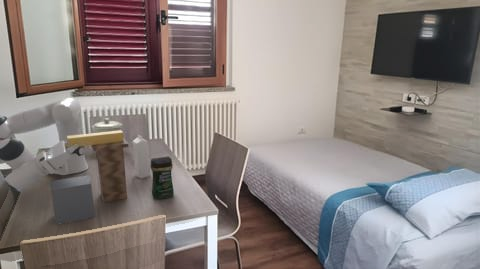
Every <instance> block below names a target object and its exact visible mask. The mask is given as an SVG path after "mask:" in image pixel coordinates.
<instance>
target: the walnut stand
mask: <svg viewBox="0 0 480 269" xmlns="http://www.w3.org/2000/svg"><path fill="white" fill-rule="evenodd" d="M90 146H91V148H92V151H93V152H96V158H97V168H98V177H99V187H100V195H101V197H102V201H103V203H109V202H113V201H117V200H124V199H128V190H127V178H126V167H125V166H126V165H125V155H124V149H125V148H129V147H130V146H129V143H128V141H127V140H126V139H125V138H124V141H121V142H113V143H104V144H96V145H90Z"/></svg>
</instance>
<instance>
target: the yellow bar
mask: <svg viewBox="0 0 480 269" xmlns="http://www.w3.org/2000/svg"><path fill="white" fill-rule="evenodd" d="M67 139H68V146H69V148H70V147H71V146H72V145H73V144H75V143H77V145H78V147H80V146H84V147H85V146H86V147H87V146H91V145H96V144H104V143H113V142H121V141H124V139H125V137H124V132H123V131H122V129H121V130H119V131H109V132H100V133H94V132H91V133H83V134H82V133H81V135H72V136H67Z"/></svg>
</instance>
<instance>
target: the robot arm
mask: <svg viewBox="0 0 480 269" xmlns="http://www.w3.org/2000/svg"><path fill="white" fill-rule="evenodd" d="M80 111H81V104H80V102H79V101H78V100H77V99H76V98H74V97H73V98H72V97H65V98H61V99H58V100H56V101H52V102H49V103H46V104H43V105H41V106H36V107H33V108H30V109H26V110H23V111H20V112H17V113H15V114H12V115H10V116H8V117H7V116H2V115H0V165H1V164H2V165H3V164H6V165H7V166H9V167H10V168H11V170H12V171H11V172H10V173H9V174H7V176H5V177H4V182H5V184H7V185H8V186H9V187H10V188H11V189H12V190H14V191H15V192H20V191H23V190H26V189H27V188H30V187H31V186H33V185H34V184H36V183H37V182H39V180H40V179H41V178H43V177H46V176H47V175H49V174H50V175H53V174H55V175H60V176H67V175H72V174H78V173H82V172H84V171H86V170H88V168H89V165H88V163H87V160H86V157H85V146H80V147H78V145H77V143H75V144H73V145H72V146H71V147H70V148H69V146H68V139H67V136H72V135H81V134H82V130H81V128H80V125H79V121H78V115H79V114H80ZM52 125H55V127H56V129H57V133H58V139H59V140H58V141H59V142H57V143H56V144H54V145H53V146H51V148H49V149H48V151H47V152H46V151H45V150H42V151H41V152H39V153H37V154H36V155H35V154H34V153H33V152H32V151H31V150H30V149H29V148H28V147H27V146H26V145H25V144H24V143H23V142H22V140H20V139H19V137H16V136H15V135H20V134H25V133H30V132H34V131H37V130H40V129H44V128H47V127H51V126H52Z"/></svg>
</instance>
